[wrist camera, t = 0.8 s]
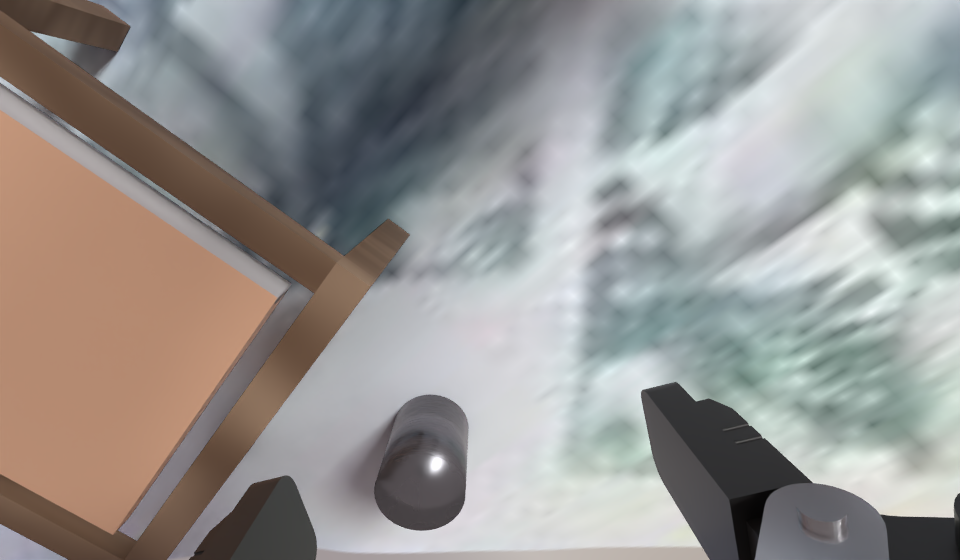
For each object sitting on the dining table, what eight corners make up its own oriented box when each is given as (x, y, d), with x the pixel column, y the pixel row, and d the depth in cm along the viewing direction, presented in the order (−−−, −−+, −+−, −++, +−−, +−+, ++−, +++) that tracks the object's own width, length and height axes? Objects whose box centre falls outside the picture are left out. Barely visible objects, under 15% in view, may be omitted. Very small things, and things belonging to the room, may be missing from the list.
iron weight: (423, 381, 30) (409, 438, 24) (483, 422, 31) (483, 487, 25) (380, 433, 31) (356, 500, 25) (439, 471, 32) (429, 544, 26)
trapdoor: (-56, 38, 16) (-91, 31, 15) (294, 280, 19) (284, 287, 18) (-183, 345, 20) (-217, 356, 19) (129, 517, 22) (112, 535, 21)
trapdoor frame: (103, 6, 24) (-150, -83, 14) (410, 234, 27) (370, 286, 18) (-36, 289, 28) (-302, 365, 19) (243, 457, 32) (139, 596, 22)
